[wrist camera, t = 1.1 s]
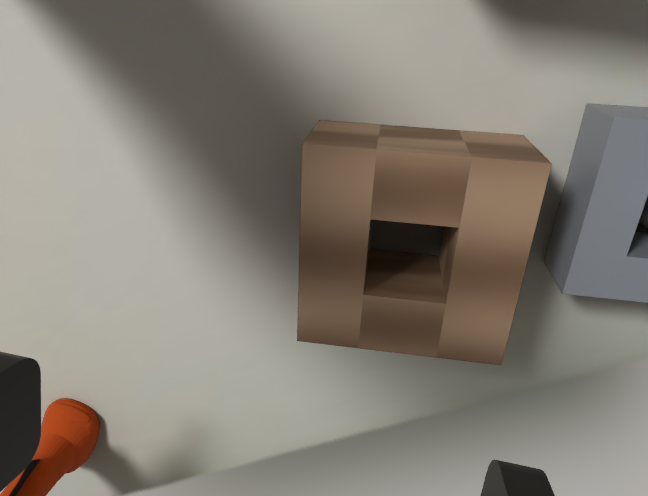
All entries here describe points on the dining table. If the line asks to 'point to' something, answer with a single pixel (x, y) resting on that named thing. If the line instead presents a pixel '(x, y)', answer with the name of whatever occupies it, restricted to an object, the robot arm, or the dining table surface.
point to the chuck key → (644, 215)
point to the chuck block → (419, 208)
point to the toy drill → (58, 448)
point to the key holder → (604, 208)
